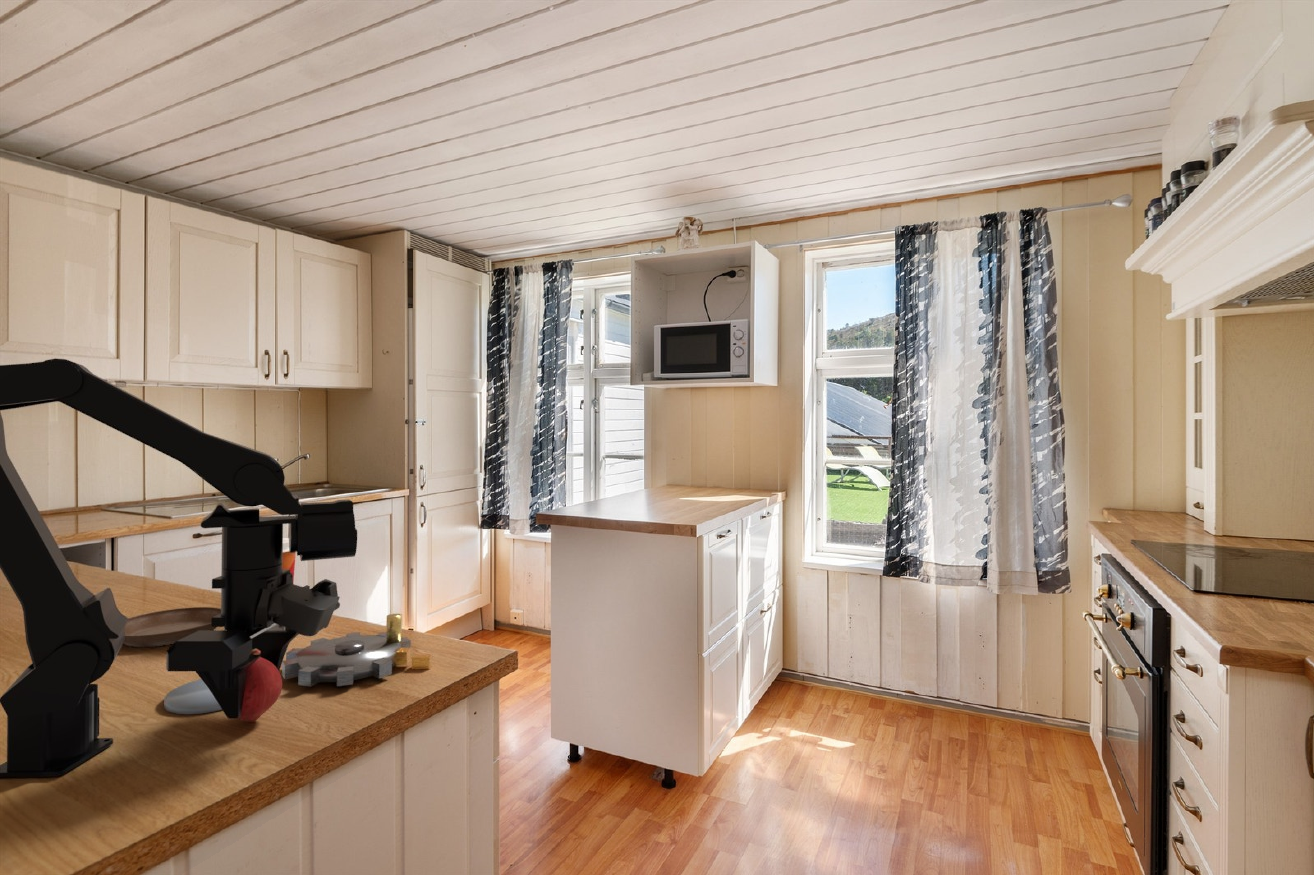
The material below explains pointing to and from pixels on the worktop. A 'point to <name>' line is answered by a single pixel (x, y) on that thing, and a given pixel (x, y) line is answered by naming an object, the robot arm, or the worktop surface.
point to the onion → (260, 688)
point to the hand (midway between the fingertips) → (251, 705)
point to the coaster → (191, 699)
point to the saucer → (167, 626)
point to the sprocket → (349, 656)
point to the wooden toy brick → (422, 661)
